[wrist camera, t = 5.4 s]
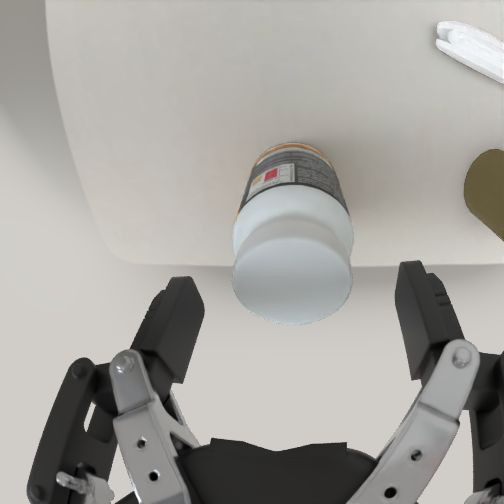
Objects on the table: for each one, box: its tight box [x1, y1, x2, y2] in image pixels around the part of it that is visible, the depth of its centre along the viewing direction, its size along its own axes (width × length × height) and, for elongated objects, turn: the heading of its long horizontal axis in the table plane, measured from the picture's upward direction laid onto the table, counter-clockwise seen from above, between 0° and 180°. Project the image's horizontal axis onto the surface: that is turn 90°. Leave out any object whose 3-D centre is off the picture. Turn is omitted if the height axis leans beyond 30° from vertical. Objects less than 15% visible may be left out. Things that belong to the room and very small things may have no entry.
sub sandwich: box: [435, 21, 504, 84], centre depth 9 cm, size 3×8×3 cm, turn 89°
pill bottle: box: [232, 143, 354, 325], centre depth 15 cm, size 6×6×10 cm
